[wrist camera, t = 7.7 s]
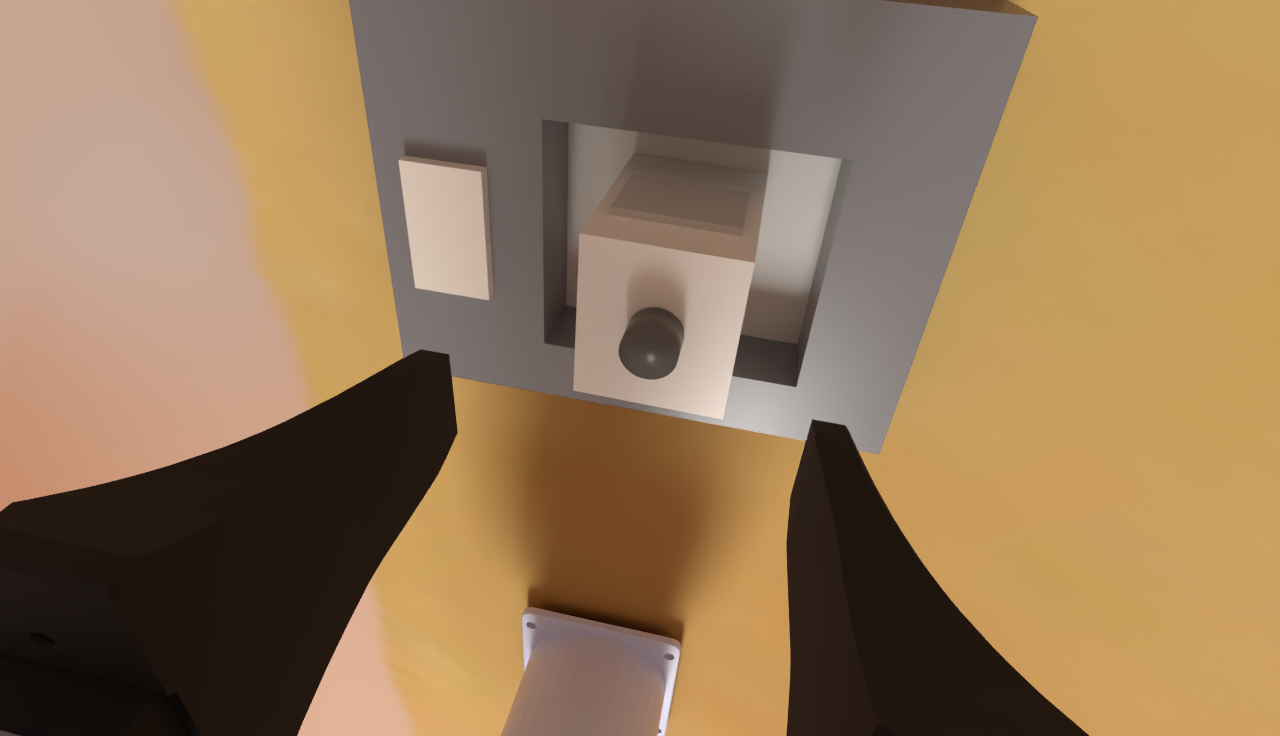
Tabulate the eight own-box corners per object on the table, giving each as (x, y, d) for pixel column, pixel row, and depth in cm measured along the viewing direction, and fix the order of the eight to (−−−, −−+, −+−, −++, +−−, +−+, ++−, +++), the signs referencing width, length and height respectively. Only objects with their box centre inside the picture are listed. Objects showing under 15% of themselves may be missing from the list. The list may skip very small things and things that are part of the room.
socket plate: (872, 398, 24) (880, 462, 22) (442, 323, 26) (399, 374, 24) (1005, -1, 17) (1043, 19, 14) (400, -63, 19) (331, -56, 16)
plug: (741, 307, 23) (718, 444, 17) (622, 286, 23) (562, 413, 18) (769, 166, 20) (753, 274, 14) (634, 146, 20) (567, 243, 15)
